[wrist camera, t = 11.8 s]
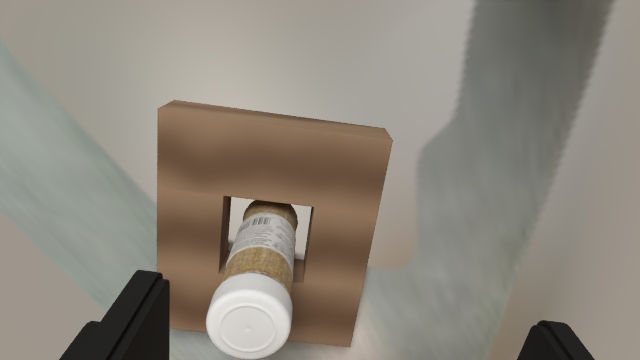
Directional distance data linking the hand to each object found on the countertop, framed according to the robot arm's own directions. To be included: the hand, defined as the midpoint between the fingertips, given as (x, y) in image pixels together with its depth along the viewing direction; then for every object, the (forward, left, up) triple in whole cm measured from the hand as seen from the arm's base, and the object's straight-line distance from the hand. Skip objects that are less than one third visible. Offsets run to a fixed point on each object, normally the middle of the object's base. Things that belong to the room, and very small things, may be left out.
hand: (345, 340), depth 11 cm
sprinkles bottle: (+8, -3, -23) cm, 25 cm away
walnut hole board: (+8, -4, -23) cm, 24 cm away
